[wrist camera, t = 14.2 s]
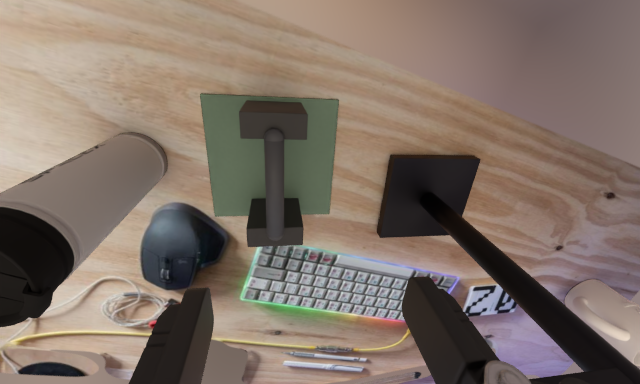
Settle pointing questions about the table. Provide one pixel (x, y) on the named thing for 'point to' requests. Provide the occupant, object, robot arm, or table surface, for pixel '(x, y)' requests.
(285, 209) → the square-ended dumbbell
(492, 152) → the table surface
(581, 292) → the mug
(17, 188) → the travel mug
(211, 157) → the desk mat
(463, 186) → the stand
